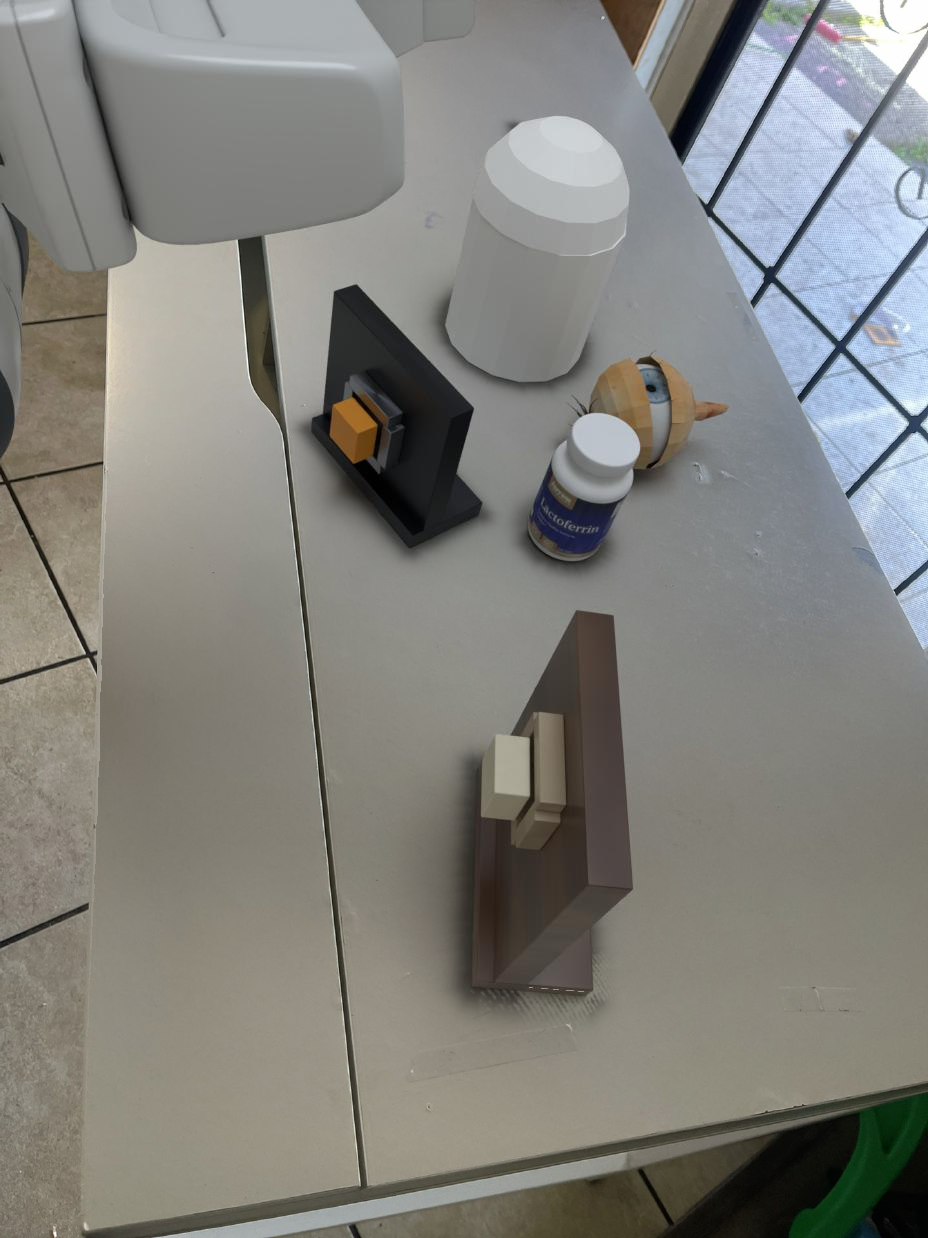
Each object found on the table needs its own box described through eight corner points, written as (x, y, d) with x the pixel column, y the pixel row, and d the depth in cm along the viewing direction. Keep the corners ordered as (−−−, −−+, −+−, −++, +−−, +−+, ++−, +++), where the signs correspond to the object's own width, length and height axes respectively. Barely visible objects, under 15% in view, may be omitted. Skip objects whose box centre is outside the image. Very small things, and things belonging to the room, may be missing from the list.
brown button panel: (466, 986, 54) (557, 882, 38) (472, 767, 62) (550, 605, 46) (585, 996, 55) (723, 898, 39) (577, 779, 63) (689, 625, 47)
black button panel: (406, 550, 71) (436, 424, 60) (307, 431, 76) (317, 295, 65) (479, 514, 74) (519, 389, 63) (379, 403, 79) (401, 269, 68)
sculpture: (554, 348, 75) (730, 315, 76) (546, 414, 84) (705, 384, 85) (583, 444, 72) (767, 408, 73) (571, 502, 80) (737, 470, 81)
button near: (480, 817, 47) (494, 792, 44) (481, 760, 48) (495, 733, 46) (514, 821, 47) (530, 797, 44) (515, 763, 49) (530, 737, 46)
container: (481, 393, 82) (539, 185, 66) (421, 297, 88) (460, 84, 72) (605, 369, 88) (687, 170, 71) (540, 280, 93) (602, 77, 77)
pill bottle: (515, 545, 73) (553, 448, 64) (538, 492, 77) (576, 394, 68) (590, 576, 73) (637, 483, 64) (609, 521, 77) (657, 426, 68)
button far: (353, 464, 68) (357, 433, 65) (329, 436, 69) (332, 404, 66) (373, 455, 68) (378, 424, 66) (349, 428, 69) (353, 396, 67)
